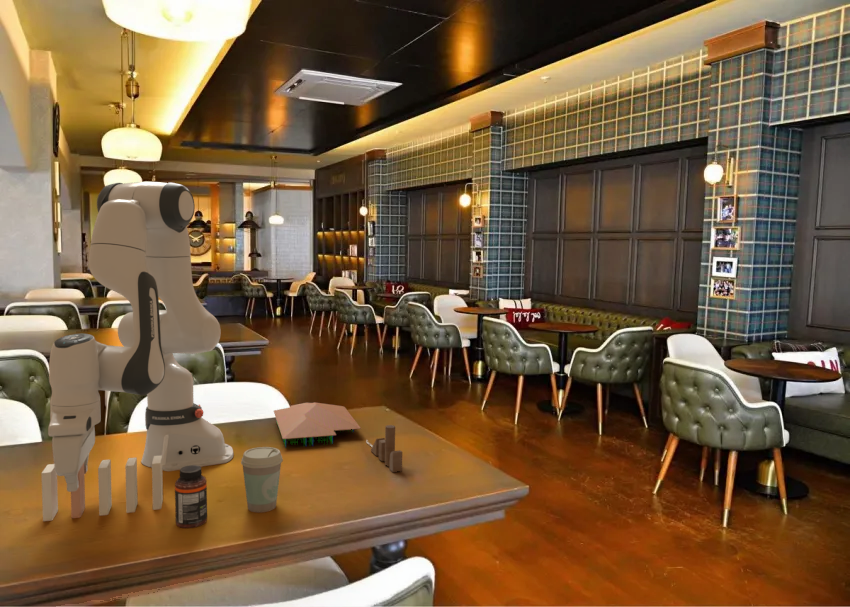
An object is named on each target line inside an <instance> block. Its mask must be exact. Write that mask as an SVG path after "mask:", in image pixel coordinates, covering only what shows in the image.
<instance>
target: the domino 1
mask: <svg viewBox="0 0 850 607" xmlns="http://www.w3.org/2000/svg"><path fill="white" fill-rule="evenodd" d="M77 476H78V482H79V483H78V485H79V487H78V489H77V490H76V491H73V492H70V509H71V510H70V513H71V519H76V518H77V519H78V518H81V517H82V516H83V514H84V511H85V509H86V493H85V492H86V488H85V487H86V486H85V483H86V482H85V474H84V463H83V465H82V466H81V468H80V470H79V472H78V474H77Z"/></svg>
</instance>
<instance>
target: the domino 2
mask: <svg viewBox="0 0 850 607" xmlns="http://www.w3.org/2000/svg"><path fill="white" fill-rule="evenodd" d="M97 470H98V472H97V473H98V477H97V479H98V482H97V483H98V512H99V514H98V516H107V515H109V514H110V510H111V508H112V506H113V504H112V500H113V499H112V461H111V459H102V460H101V462H100V464H99V466H98V469H97Z"/></svg>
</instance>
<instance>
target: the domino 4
mask: <svg viewBox="0 0 850 607" xmlns="http://www.w3.org/2000/svg"><path fill="white" fill-rule="evenodd" d="M151 475H152V478H151V481H152V482H151V484H152V485H151V486H152V488H151V489H152V510H153V511H154V510H162V506H163V502H164V501H163V500H164V496H163V495H164V492H163V491H164V490H163V488H164V487H163V486H164V485H163V483H164V482H163V470H162V455H161V456H154V458H153V462H152V467H151Z"/></svg>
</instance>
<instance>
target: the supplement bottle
mask: <svg viewBox="0 0 850 607" xmlns="http://www.w3.org/2000/svg"><path fill="white" fill-rule="evenodd" d="M207 486H208V483H207V478H206V477H205V476H204V475H202V466H201V467H200V466H197V465H190V466H185V467H182V468H181V469H180V470H179V478H177V480H175V483H174V500H175V501H174V502H175V503H174V504H175V524H176V526H177V527H178V528H182V529H193V528H197V527H200V526H203V525H205V523H207V520H208V491H207V490H208V487H207Z"/></svg>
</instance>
